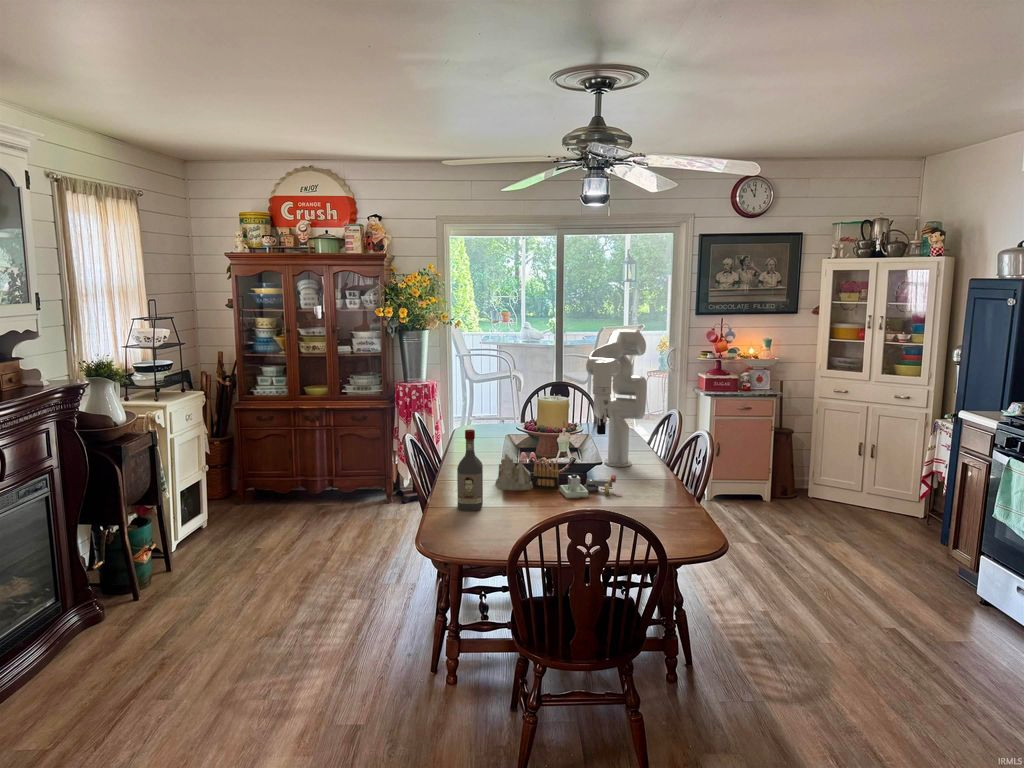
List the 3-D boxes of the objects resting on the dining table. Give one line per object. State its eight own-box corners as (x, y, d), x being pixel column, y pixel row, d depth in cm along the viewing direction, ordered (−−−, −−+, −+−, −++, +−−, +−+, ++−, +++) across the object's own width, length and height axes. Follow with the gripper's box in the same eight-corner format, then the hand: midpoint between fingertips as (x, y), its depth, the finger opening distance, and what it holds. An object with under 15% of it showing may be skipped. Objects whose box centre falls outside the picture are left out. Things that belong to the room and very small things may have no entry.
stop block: (567, 491, 278) (568, 474, 277) (577, 490, 279) (577, 473, 278) (570, 494, 275) (570, 476, 273) (580, 493, 275) (580, 476, 274)
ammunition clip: (532, 487, 285) (533, 459, 283) (533, 486, 287) (533, 458, 285) (558, 489, 283) (558, 461, 281) (558, 487, 285) (559, 460, 283)
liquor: (459, 503, 265) (459, 427, 260) (483, 503, 265) (482, 428, 260) (457, 511, 256) (456, 433, 251) (481, 511, 256) (481, 433, 251)
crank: (585, 486, 280) (586, 476, 279) (587, 483, 284) (587, 473, 283) (615, 488, 277) (615, 478, 277) (616, 485, 281) (616, 475, 280)
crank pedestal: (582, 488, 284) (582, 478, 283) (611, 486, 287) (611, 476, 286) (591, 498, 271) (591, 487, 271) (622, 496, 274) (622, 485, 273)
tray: (559, 490, 281) (559, 485, 280) (580, 489, 282) (580, 484, 282) (566, 498, 271) (566, 492, 271) (588, 497, 273) (588, 491, 272)
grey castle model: (531, 491, 280) (530, 455, 279) (492, 490, 283) (491, 454, 281) (536, 482, 295) (535, 448, 294) (499, 482, 298) (498, 448, 297)
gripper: (617, 393, 274) (615, 437, 277) (604, 387, 288) (603, 429, 291) (599, 393, 272) (598, 438, 275) (587, 387, 287) (587, 430, 290)
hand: (601, 433), depth 283 cm, fingers closed
